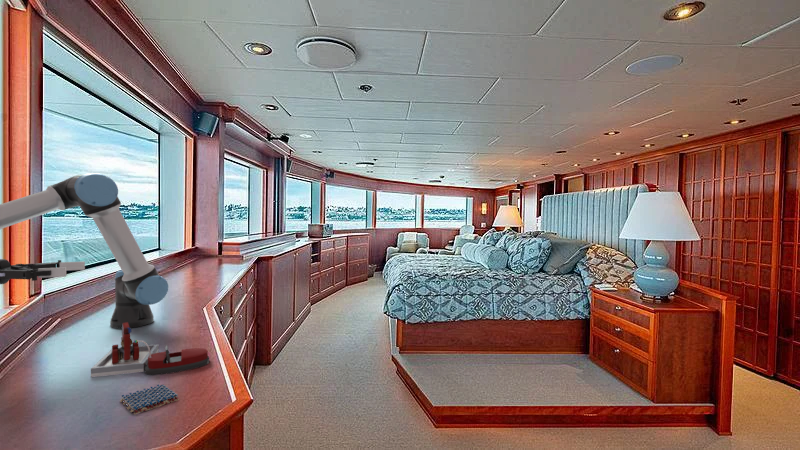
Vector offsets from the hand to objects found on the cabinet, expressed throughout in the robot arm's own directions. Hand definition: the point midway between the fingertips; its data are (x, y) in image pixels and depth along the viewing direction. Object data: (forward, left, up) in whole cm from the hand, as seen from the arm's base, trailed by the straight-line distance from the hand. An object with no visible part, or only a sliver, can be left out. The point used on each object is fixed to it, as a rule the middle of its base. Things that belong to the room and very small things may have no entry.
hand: (75, 268), depth 125 cm
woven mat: (+38, +29, -30) cm, 57 cm away
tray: (+9, +16, -29) cm, 34 cm away
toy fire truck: (+7, +16, -28) cm, 33 cm away
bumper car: (+16, +30, -30) cm, 45 cm away
